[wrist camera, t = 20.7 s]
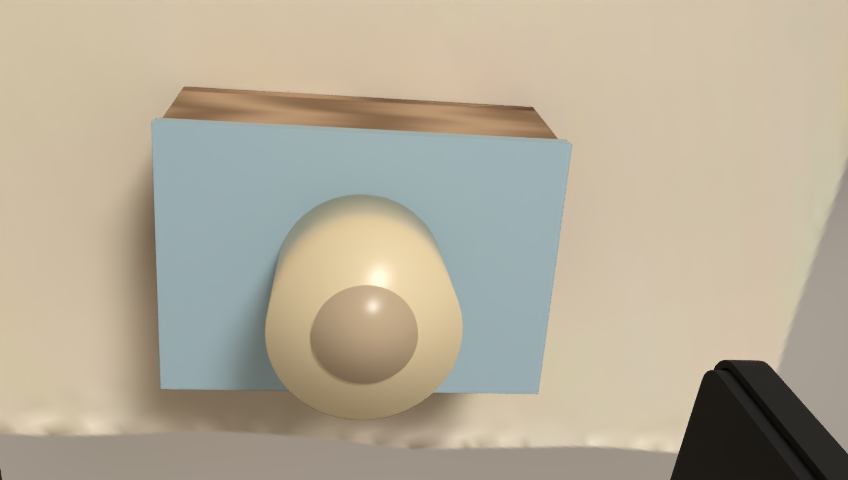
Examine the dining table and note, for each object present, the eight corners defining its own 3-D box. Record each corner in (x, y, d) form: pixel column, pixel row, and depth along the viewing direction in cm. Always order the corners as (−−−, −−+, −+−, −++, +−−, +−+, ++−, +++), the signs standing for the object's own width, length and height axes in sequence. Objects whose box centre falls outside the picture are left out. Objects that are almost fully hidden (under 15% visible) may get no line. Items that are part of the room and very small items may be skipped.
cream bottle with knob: (275, 346, 29) (263, 422, 25) (278, 190, 28) (265, 239, 23) (435, 349, 30) (455, 424, 25) (448, 198, 28) (472, 246, 23)
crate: (193, 303, 36) (172, 365, 32) (184, 86, 32) (158, 123, 28) (502, 310, 38) (524, 371, 34) (532, 107, 34) (562, 144, 29)
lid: (165, 378, 30) (160, 388, 30) (156, 117, 27) (151, 121, 26) (533, 384, 32) (538, 393, 31) (566, 139, 29) (572, 144, 28)
